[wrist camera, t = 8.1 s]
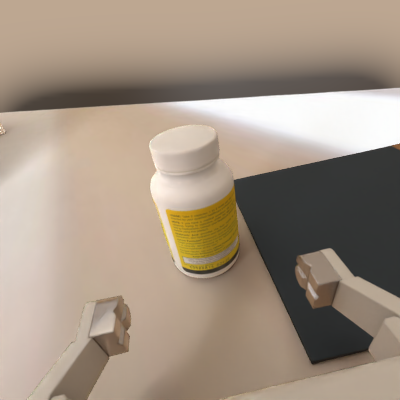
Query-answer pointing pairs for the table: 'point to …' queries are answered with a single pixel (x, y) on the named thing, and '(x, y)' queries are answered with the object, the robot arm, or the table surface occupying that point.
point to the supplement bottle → (195, 200)
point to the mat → (328, 235)
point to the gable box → (2, 129)
